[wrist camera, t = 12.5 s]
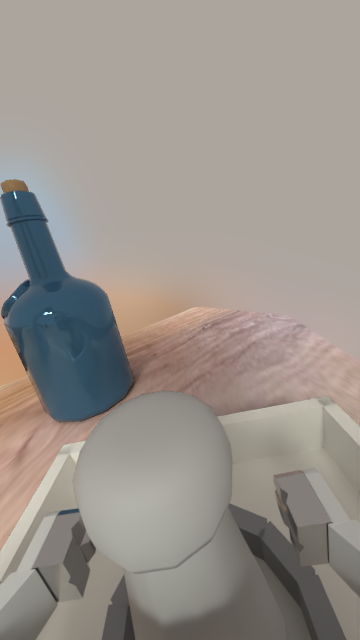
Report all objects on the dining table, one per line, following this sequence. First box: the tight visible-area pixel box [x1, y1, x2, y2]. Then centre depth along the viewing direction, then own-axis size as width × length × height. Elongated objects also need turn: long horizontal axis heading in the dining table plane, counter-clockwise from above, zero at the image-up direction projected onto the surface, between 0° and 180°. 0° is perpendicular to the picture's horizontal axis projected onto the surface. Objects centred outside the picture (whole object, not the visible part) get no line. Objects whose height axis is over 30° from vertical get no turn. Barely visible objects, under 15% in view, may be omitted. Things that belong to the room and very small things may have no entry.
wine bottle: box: [0, 179, 134, 422], centre depth 31 cm, size 14×13×30 cm
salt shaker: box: [72, 391, 287, 640], centre depth 8 cm, size 6×6×13 cm
